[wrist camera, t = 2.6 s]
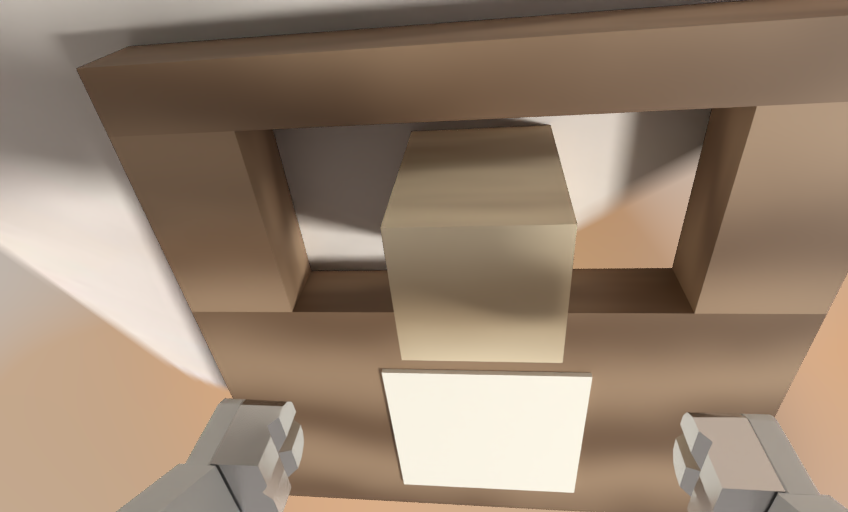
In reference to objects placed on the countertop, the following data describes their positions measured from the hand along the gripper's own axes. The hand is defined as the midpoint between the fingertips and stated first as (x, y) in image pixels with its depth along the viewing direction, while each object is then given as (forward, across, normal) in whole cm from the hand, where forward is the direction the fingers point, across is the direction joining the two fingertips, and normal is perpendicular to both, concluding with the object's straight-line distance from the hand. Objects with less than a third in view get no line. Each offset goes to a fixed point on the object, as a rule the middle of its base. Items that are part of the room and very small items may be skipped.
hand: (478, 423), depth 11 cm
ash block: (+9, 0, -1) cm, 9 cm away
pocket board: (+9, 0, +4) cm, 10 cm away
